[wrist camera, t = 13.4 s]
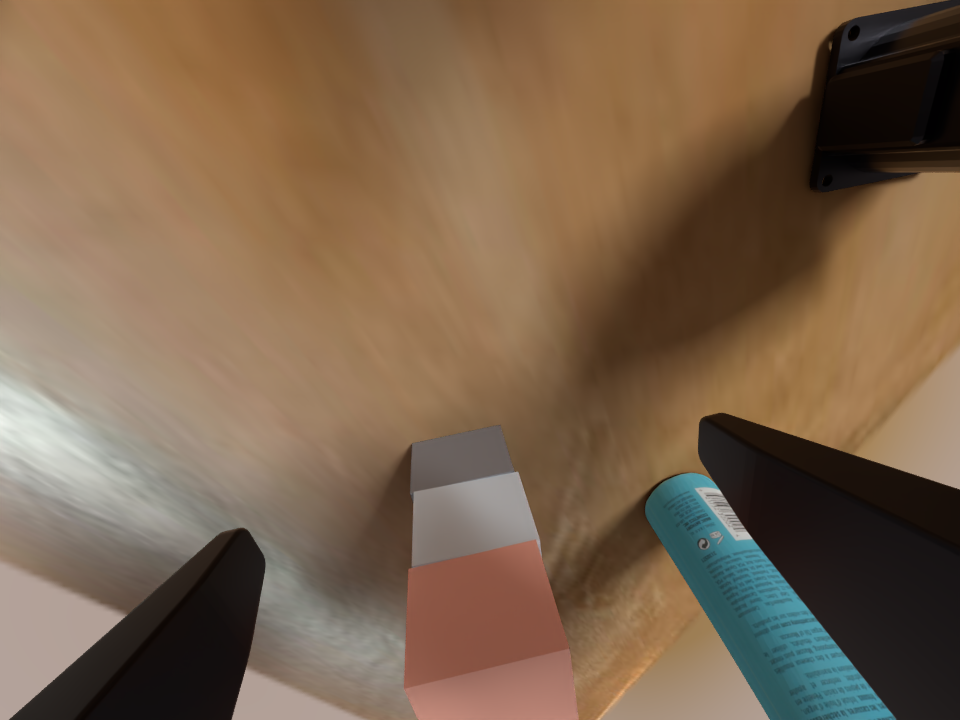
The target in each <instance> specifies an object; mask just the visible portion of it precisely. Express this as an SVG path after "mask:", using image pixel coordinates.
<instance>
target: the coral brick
mask: <svg viewBox="0 0 960 720" xmlns="http://www.w3.org/2000/svg"><path fill="white" fill-rule="evenodd" d="M404 690H405V692H406V694H407V696H408V699H409V701H410V703H411V705H412V707H413V709H414V712H415V714H416V716H417V718H418V720H579V719H578V711H577V703H576V695H575V687H574V679H573V671H572V663H571V655H570V648H569V645H568V642H567V638H566V635H565V632H564V629H563V625H562V622H561V619H560V616H559V612H558V609H557V606H556V603H555V599H554V596H553V593H552V590H551V587H550V583H549V580H548V577H547V574H546V570H545V567H544V564H543V561H542V557H541V554H540V551H539V548H538V544H537V541H536V540H531V541H527V542H523V543H518V544H514V545H510V546H505V547H501V548H497V549H492V550H489V551H484V552H480V553H476V554H471V555H467V556H463V557H458V558H454V559H450V560H445V561H441V562H437V563H432V564H428V565H424V566H419V567H415V568H410V569H408V594H407V621H406V648H405V675H404Z"/></svg>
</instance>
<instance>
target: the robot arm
mask: <svg viewBox="0 0 960 720" xmlns="http://www.w3.org/2000/svg"><path fill="white" fill-rule="evenodd" d="M849 30H850V31H851V36H850V38H849V39H848V33H849ZM921 172H960V0H948V1H943V2H938V3H932V4H927V5H922V6H917V7H911V8H906V9H901V10H895V11H890V12H885V13H879V14H874V15H869V16H863V17H858V18H855V19H852V20H849V21H846V22H844V23H842V24H841V25H840V26H839V27H838V29H837V30H836V32H835V34H834V37H833V43H832V49H831V55H830V61H829V67H828V73H827V80H826V86H825V92H824V98H823V104H822V110H821V116H820V122H819V129H818V135H817V141H816V147H815V153H814V159H813V165H812V171H811V178H810V188H811V190H812V191H814V192H829V191H834V190H838V189H843V188H848V187H853V186H858V185H863V184H868V183H873V182H877V181H882V180H887V179H892V178H897V177H902V176H907V175H912V174H917V173H921ZM824 177H825V181H824V183H823V184H822V181H823V178H824ZM698 454H699V457H700V460H701V462H702V464H703V465H704V467H705V468H706V470H707V471H708V473H709V474H710V476H711V478H712V479H713V481H714V482H715V484H716V485H717V487H718V488H719V490H720V491H721V493H722V495H723V496H724V498H725V499H726V501H727V502H728V504H729V505H730V507H731V508H732V510H733V512H734V513H735V515H736V516H737V518H738V519H739V521H740V522H741V524H742V525H743V527H744V528H745V529H746V531H747V532H748V534H749V535H750V536H751V537H752V539H753V540H754V541H755V543H756V544H757V545H758V546H759V548H760V549H761V550H762V551H763V553H764V554H765V555H766V557H767V558H768V559H769V560H770V562H771V563H772V564H773V565H774V567H775V568H776V569H777V570H778V572H779V573H780V574H781V575H782V577H783V578H784V579H785V580H786V582H787V583H788V584H789V585H790V587H791V588H792V589H793V590H794V592H795V593H796V594H797V595H798V597H799V598H800V599H801V600H802V602H803V603H804V604H805V605H806V607H807V608H808V609H809V610H810V612H811V613H812V614H813V616H814V617H815V618H816V619H817V621H818V622H819V623H820V624H821V626H822V627H823V628H824V629H825V631H826V632H827V633H828V634H829V636H830V637H831V638H832V639H833V641H834V642H835V643H836V644H837V646H838V647H839V648H840V649H841V651H842V652H843V653H844V654H845V656H846V657H847V658H848V659H849V661H850V662H851V663H852V664H853V666H854V667H855V668H856V669H857V671H858V672H859V673H860V675H861V676H862V677H863V678H864V680H865V681H866V682H867V683H868V685H869V686H870V687H871V688H872V690H873V691H874V692H875V693H876V695H877V696H878V697H879V698H880V700H881V701H882V702H883V703H884V705H885V706H886V707H887V708H888V710H889V711H890V712H891V713H892V715H893V716H894V717H895V718H896V720H960V490H959V489H957V488H953V487H951V486H947V485H944V484H941V483H938V482H935V481H932V480H929V479H926V478H923V477H919V476H917V475H914V474H910V473H907V472H904V471H901V470H898V469H895V468H892V467H889V466H885V465H883V464H880V463H877V462H874V461H870V460H867V459H864V458H861V457H858V456H855V455H852V454H849V453H846V452H843V451H840V450H837V449H834V448H830V447H827V446H824V445H821V444H818V443H815V442H812V441H809V440H806V439H803V438H800V437H797V436H793V435H790V434H787V433H784V432H781V431H778V430H775V429H772V428H769V427H766V426H763V425H760V424H757V423H753V422H750V421H747V420H744V419H741V418H738V417H735V416H732V415H729V414H726V413H717V414H713V415H709V416H705V417H703V418H702V419H701V420H700V422H699V438H698ZM264 574H265V558H264V555H263V553H262V552H261V550H260V548H259V547H258V545H257V544H256V542H255V540H254V539H253V537H252V536H251V534H250V532H249V531H248V530H247V529H245V528H237V529H233V530H229V531H225V532H222V533H220V534H219V535H217V536H216V537H215V538H214V539H213V540H212V541H211V542H209V543H208V544H207V545H206V546H205V547H204V548H203V549H201V550H200V551H199V552H198V553H197V554H196V555H195V556H194V557H192V558H191V559H190V560H189V561H188V562H187V563H186V564H185V565H183V566H182V567H181V568H180V569H179V570H178V571H177V572H175V573H174V574H173V575H172V576H171V577H170V578H169V579H168V580H166V581H165V582H164V583H163V584H162V585H161V586H160V587H159V588H157V589H156V590H155V591H154V592H153V593H152V594H151V595H149V596H148V597H147V598H146V599H145V600H144V601H143V602H142V603H140V604H139V605H138V606H137V607H136V608H135V609H134V610H133V611H131V612H130V613H129V614H128V615H127V616H126V617H125V618H123V619H122V620H121V621H120V622H119V623H118V624H117V625H116V626H115V627H113V628H112V629H111V630H110V631H109V632H108V633H107V634H106V635H104V636H103V637H102V638H101V639H100V640H99V641H97V642H96V643H95V644H94V645H93V646H92V647H91V648H90V649H88V650H87V651H86V652H85V653H84V654H83V655H82V656H81V657H80V658H78V659H77V660H76V661H75V662H74V663H73V664H72V665H70V666H69V667H68V668H67V669H66V670H65V671H64V672H63V673H61V674H60V675H59V676H58V677H57V678H56V679H55V680H53V682H51V683H50V684H49V685H48V686H47V687H45V688H44V689H43V690H42V691H41V692H40V693H39V694H38V695H36V696H35V697H34V698H33V699H32V700H31V701H30V702H29V703H27V704H26V705H25V706H24V707H23V708H22V709H21V710H19V711H18V712H17V713H16V714H15V715H14V716H13V717H12V718H10V719H9V720H232V716H233V712H234V709H235V705H236V702H237V698H238V694H239V691H240V687H241V684H242V680H243V677H244V673H245V670H246V666H247V662H248V658H249V654H250V649H251V644H252V640H253V634H254V629H255V623H256V618H257V612H258V607H259V601H260V596H261V590H262V585H263V579H264Z"/></svg>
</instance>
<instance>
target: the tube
mask: <svg viewBox="0 0 960 720" xmlns="http://www.w3.org/2000/svg"><path fill="white" fill-rule="evenodd" d="M645 514H646V517H647V520H648V521H649V523H650V525H651V526H652V528H653V530H654V531H655V533H656V534H657V536H658V538H659V539H660V541H661V542H662V544H663V545H664V547H665V549H666V550H667V552H668V553H669V555H670V557H671V558H672V560H673V561H674V563H675V565H676V566H677V568H678V569H679V571H680V573H681V574H682V576H683V577H684V579H685V581H686V582H687V584H688V585H689V587H690V589H691V590H692V592H693V593H694V595H695V597H696V598H697V600H698V602H699V603H700V605H701V606H702V608H703V610H704V611H705V613H706V615H707V616H708V618H709V620H710V621H711V623H712V624H713V626H714V628H715V629H716V631H717V632H718V634H719V636H720V638H721V639H722V641H723V642H724V644H725V646H726V647H727V649H728V651H729V652H730V654H731V655H732V657H733V659H734V660H735V662H736V664H737V665H738V667H739V669H740V670H741V672H742V674H743V675H744V677H745V679H746V680H747V682H748V684H749V685H750V687H751V689H752V690H753V692H754V693H755V695H756V697H757V699H758V700H759V702H760V704H761V705H762V707H763V709H764V710H765V712H766V714H767V715H768V717H769V719H770V720H896V718H895V717H894V716H893V715H892V713H891V712H890V711H889V710H888V708H887V707H886V706H885V705H884V703H883V702H882V701H881V700H880V698H879V697H878V696H877V695H876V693H875V692H874V691H873V690H872V688H871V687H870V686H869V685H868V683H867V682H866V681H865V680H864V678H863V677H862V676H861V675H860V673H859V672H858V671H857V669H856V668H855V667H854V666H853V664H852V663H851V662H850V661H849V659H848V658H847V657H846V656H845V654H844V653H843V652H842V651H841V649H840V648H839V647H838V646H837V644H836V643H835V642H834V641H833V639H832V638H831V637H830V636H829V634H828V633H827V632H826V631H825V629H824V628H823V627H822V626H821V624H820V623H819V622H818V621H817V619H816V618H815V617H814V616H813V614H812V613H811V612H810V610H809V609H808V608H807V607H806V605H805V604H804V603H803V602H802V600H801V599H800V598H799V597H798V595H797V594H796V593H795V592H794V590H793V589H792V588H791V587H790V585H789V584H788V583H787V582H786V580H785V579H784V578H783V577H782V575H781V574H780V573H779V572H778V570H777V569H776V568H775V567H774V565H773V564H772V563H771V562H770V560H769V559H768V558H767V557H766V555H765V554H764V553H763V551H762V550H761V549H760V548H759V546H758V545H757V544H756V543H755V541H754V540H753V539H752V537H751V536H750V535H749V534H748V532H747V531H746V529H745V528H744V527H743V525H742V524H741V522H740V521H739V519H738V518H737V516H736V515H735V513H734V512H733V510H732V508H731V507H730V505H729V504H728V502H727V501H726V499H725V498H724V496H723V495H722V493H721V491H720V490H719V488H718V487H717V485H716V484H715V483H714V482H713V481H712V480H711V479H709V478H708V477H706V476H704V475H701V474H697V473H685V474H680V475H677V476H675V477H672V478H670V479H668V480H666V481H664V482H662V483H661V484H660V485H659V486H658V487H657V488H656V489H655V490H654V491H653V492H652V494H651V495H650V497H649V498H648V500H647V502H646V506H645Z"/></svg>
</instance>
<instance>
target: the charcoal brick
mask: <svg viewBox="0 0 960 720" xmlns="http://www.w3.org/2000/svg"><path fill="white" fill-rule="evenodd" d="M508 473H514V469H513V465H512V462H511V459H510V455H509V452H508V449H507V446H506V442H505V439H504V436H503V433H502V429H501V426H500V425H496V426H492V427H487V428H482V429H478V430H473V431H468V432H464V433H459V434H454V435H449V436H445V437H440V438H435V439H431V440H426V441H421V442H416V443H412V458H411V482H410V495H411V498H412V501H413V503H414V492H416V491H421V490H426V489H431V488H436V487H442V486H447V485H452V484H457V483H462V482H467V481H472V480H478V479H483V478H488V477H493V476H498V475H503V474H508Z"/></svg>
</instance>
